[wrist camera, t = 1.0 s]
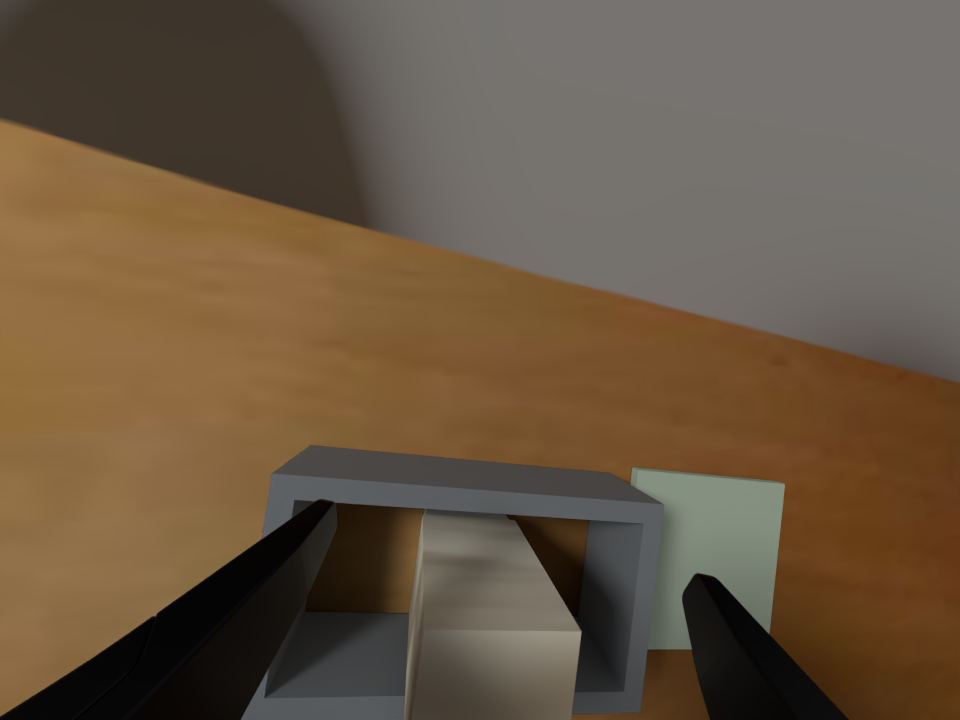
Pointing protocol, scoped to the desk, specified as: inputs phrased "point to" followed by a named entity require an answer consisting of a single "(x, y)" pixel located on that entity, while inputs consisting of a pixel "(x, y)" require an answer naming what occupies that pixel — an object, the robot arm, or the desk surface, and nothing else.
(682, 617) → the sage mat
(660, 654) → the desk surface
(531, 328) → the desk surface
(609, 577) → the slotted box
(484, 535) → the ash block
